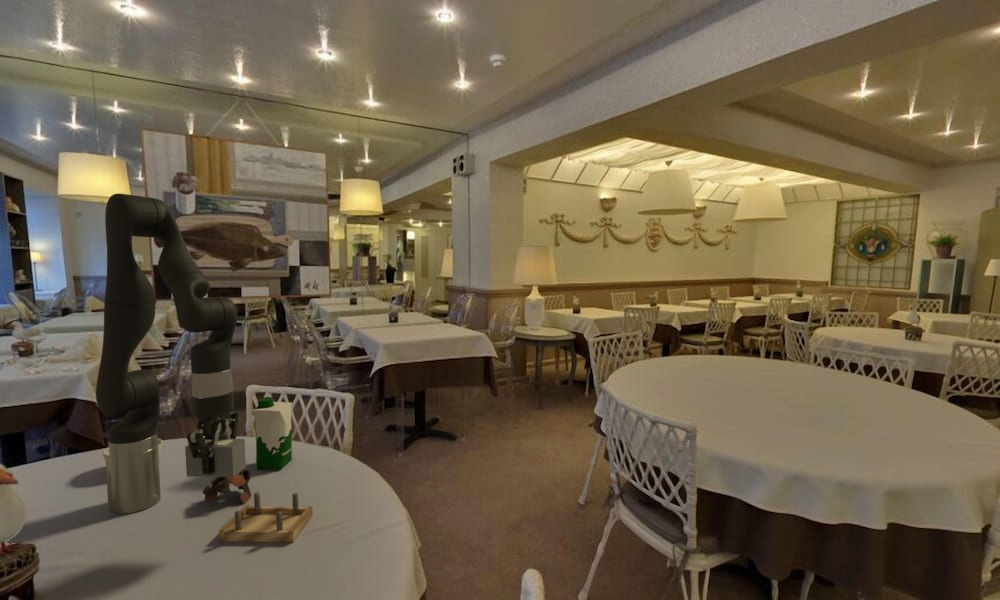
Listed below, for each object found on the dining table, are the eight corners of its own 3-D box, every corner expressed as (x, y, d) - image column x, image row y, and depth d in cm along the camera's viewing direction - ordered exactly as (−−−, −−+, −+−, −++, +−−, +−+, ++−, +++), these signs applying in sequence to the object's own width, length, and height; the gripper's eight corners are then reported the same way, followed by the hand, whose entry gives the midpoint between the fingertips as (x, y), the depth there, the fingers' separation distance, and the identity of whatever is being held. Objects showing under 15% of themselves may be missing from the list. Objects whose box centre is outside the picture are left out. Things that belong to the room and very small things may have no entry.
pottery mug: (240, 512, 109) (219, 488, 106) (211, 524, 111) (189, 500, 108) (267, 477, 120) (249, 454, 118) (240, 489, 122) (221, 466, 120)
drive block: (186, 476, 95) (185, 446, 94) (201, 466, 99) (199, 438, 99) (233, 477, 95) (231, 446, 94) (245, 467, 99) (244, 438, 98)
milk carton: (267, 458, 137) (265, 394, 135) (296, 458, 137) (295, 395, 135) (251, 471, 128) (249, 403, 127) (282, 472, 128) (280, 404, 126)
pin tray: (219, 541, 97) (218, 514, 96) (245, 514, 107) (244, 490, 106) (293, 542, 97) (292, 516, 96) (312, 516, 107) (312, 492, 106)
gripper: (217, 381, 103) (220, 453, 104) (170, 401, 88) (175, 484, 90) (249, 382, 102) (252, 454, 104) (207, 401, 88) (212, 484, 90)
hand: (216, 467), depth 97 cm, fingers closed on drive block, 4 cm apart
